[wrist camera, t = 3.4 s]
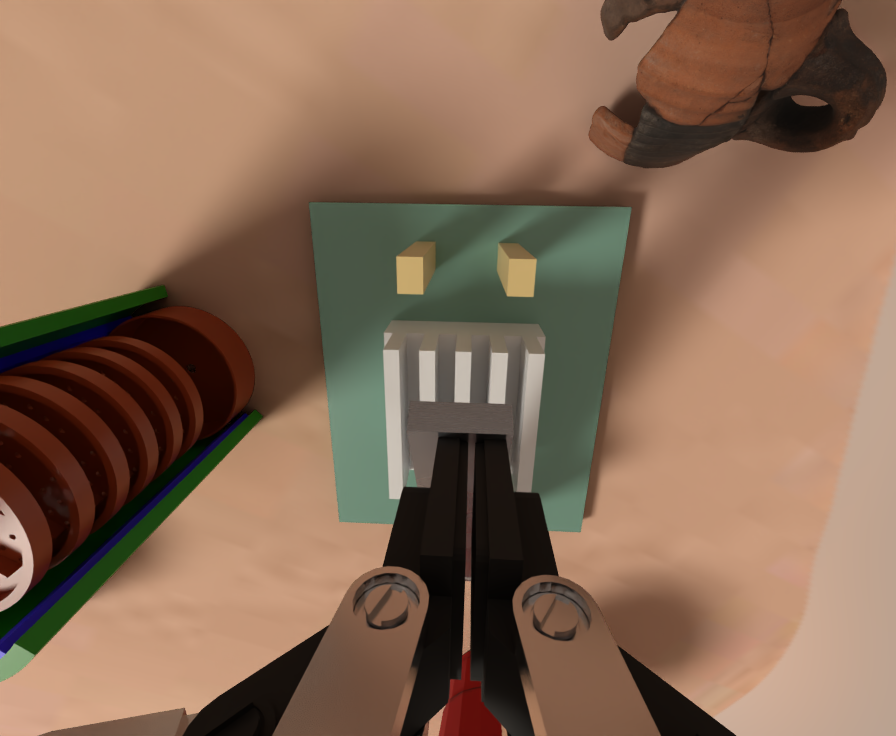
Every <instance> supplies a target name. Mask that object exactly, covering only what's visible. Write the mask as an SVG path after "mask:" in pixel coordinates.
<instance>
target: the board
mask: <svg viewBox="0 0 896 736" xmlns="http://www.w3.org/2000/svg"><path fill="white" fill-rule="evenodd" d="M309 209H310V220H311V230H312V241H313V251H314V262H315V272H316V282H317V293H318V303H319V314H320V324H321V335H322V345H323V355H324V366H325V376H326V387H327V397H328V408H329V418H330V429H331V439H332V449H333V460H334V470H335V481H336V491H337V502H338V512H339V522H356V523H379V524H394V520H395V516H396V512H397V509H398V505H399V501H400V497H401V493H402V490H403V487H417V483H416V478H415V473H414V467H413V462H412V457H411V451H410V446H409V441H408V435H407V424H408V415H409V407H410V401H431V402H461V403H492V404H512V411H513V431H514V435H513V440H512V444H511V448H510V453H509V462H510V469H511V476H512V483H513V490H514V492H534V493H539V495H540V498H541V502H542V506H543V511H544V515H545V519H546V524H547V528H548V531H563V532H581V526H582V520H583V514H584V507H585V501H586V495H587V488H588V482H589V476H590V469H591V463H592V456H593V450H594V444H595V437H596V431H597V425H598V418H599V412H600V406H601V399H602V393H603V387H604V380H605V374H606V367H607V361H608V355H609V348H610V342H611V336H612V329H613V323H614V317H615V310H616V304H617V298H618V291H619V285H620V279H621V272H622V266H623V259H624V253H625V247H626V240H627V234H628V228H629V221H630V215H631V209H632V207H599V206H534V205H468V204H403V203H338V202H309Z"/></svg>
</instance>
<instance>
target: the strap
mask: <svg viewBox="0 0 896 736" xmlns="http://www.w3.org/2000/svg"><path fill="white" fill-rule="evenodd" d="M407 435H408V441H409V446H410V451H411V457H412V462H413V467H414V473H415V478H416V483H417V487H426V488H430V486H431V479H432V473H433V467H434V460H435V454H436V447H437V441H438V437H439V438H460V442H468V483H467V527H466V566H465V581H471V532H472V508H473V484H474V460H475V443H484V439H494V440H506V441H507V448H508V455H509V453H510V448H511V444H512V440H513V435H514V431H513V411H512V404H492V403H461V402H431V401H410V407H409V415H408V424H407Z"/></svg>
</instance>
